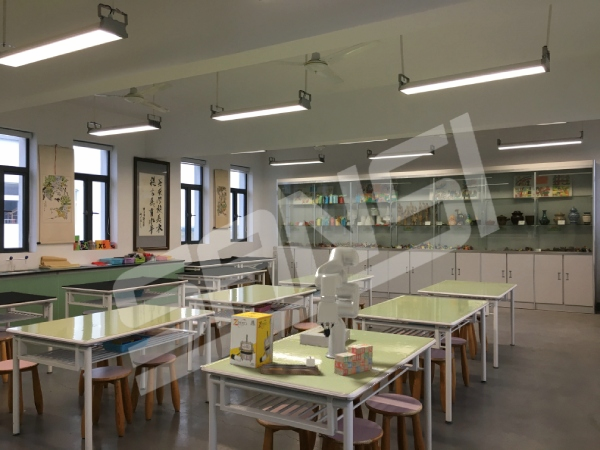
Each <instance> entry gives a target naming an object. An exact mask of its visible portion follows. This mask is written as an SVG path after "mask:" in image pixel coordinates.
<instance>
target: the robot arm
mask: <svg viewBox="0 0 600 450" xmlns="http://www.w3.org/2000/svg"><path fill="white" fill-rule="evenodd" d="M359 262H360V255H359V253H358V251H357V249H355V248H353V247H345V246H344V247H339V246H338V247H334V248H332V249H331V251H330V253H329V257H328V261H327V262H325V263H324V264H322V265H320V266H319V267H318V268H317V269H316V272H315V274H314V275H315V276H314V279H313V280H314V282H313V283H314V286H315V287H316V288H319V289H320V301H318V304H317V305H318V306H317V312H316V313H317V315H316V325H317V326H322V327H323V328H324V335H325V337H329V342H328V347H327V351H328V352H326V353H325V357H326V358H328V359H334V360H335V354H341V353H346V352H348V349H347V348H346V342H345V332H346V327H347V326H346V323H345V322H344V319H343V318H345V319H355V318H357V317H358V316H359V312H360V311H359V310H360V298H361V296H360V294H361V293H360V291H361V290H360V285H359V284H358V283H356V282H348V277H349V274H348V272H347V271H346V269H345V268H344V267H357V266H358V265H359ZM340 299H341V300H340ZM327 324H328V326H327ZM327 327H328V328H327Z"/></svg>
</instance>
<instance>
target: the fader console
mask: <svg viewBox="0 0 600 450" xmlns="http://www.w3.org/2000/svg"><path fill="white" fill-rule="evenodd" d="M260 372H261V374H263V375H305V376H306V375H309V376H310V375H312V376H314V375H315V376H316V375H317V376H318V375H320V370H319V366H318V364H317V365H315V366H311V367H309V366H306V364H291V363H289V364H288V363H285V364H284V363H268V364H262V366H261V371H260ZM261 374H260V375H261Z"/></svg>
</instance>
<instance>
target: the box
mask: <svg viewBox="0 0 600 450" xmlns="http://www.w3.org/2000/svg"><path fill="white" fill-rule="evenodd" d="M326 327H327V328H328V326H326ZM348 338H349V339H348ZM350 340H351V329H348V328H347V329H346V332H345V343H346V342H347V341H350ZM328 342H329V337H325V335H324V328H323V327H322V326H321V325H317V326H316V327H314V328H312V329H309V330H307V331H306V330H305V331H303V332H301V333H299V345H305V346H314V347H321V348H328Z"/></svg>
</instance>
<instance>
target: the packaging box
mask: <svg viewBox="0 0 600 450" xmlns="http://www.w3.org/2000/svg"><path fill="white" fill-rule="evenodd" d="M274 324H275V314H271V313H264V312H255V311H245V312H241V313H237V314H231V315H230V345H229V350H230V351H229V364H232V365H236V366H241V367H248V368H252V369H257V368H260V367H262V364H271V363H272V362H273V359H274V358H273V357H274V332H275V331H274V330H275V329H274V328H275V325H274Z"/></svg>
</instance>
